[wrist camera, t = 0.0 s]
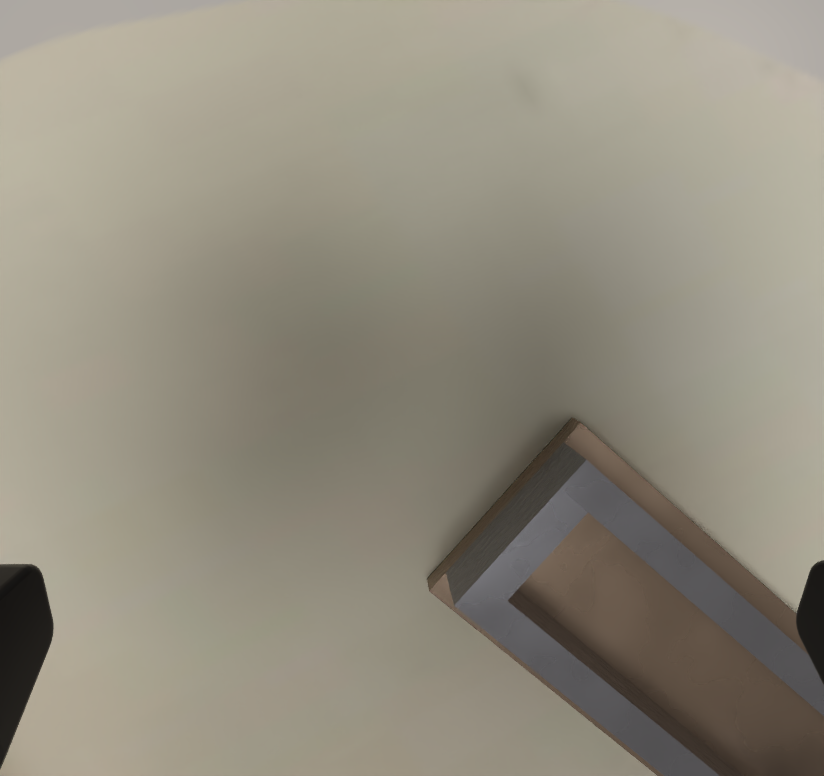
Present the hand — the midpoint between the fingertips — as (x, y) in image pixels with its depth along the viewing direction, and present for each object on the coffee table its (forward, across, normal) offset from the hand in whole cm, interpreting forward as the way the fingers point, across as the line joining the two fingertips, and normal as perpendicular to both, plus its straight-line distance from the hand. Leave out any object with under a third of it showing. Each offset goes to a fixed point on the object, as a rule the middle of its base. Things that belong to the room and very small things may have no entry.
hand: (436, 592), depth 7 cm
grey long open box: (+12, -13, +15) cm, 23 cm away
